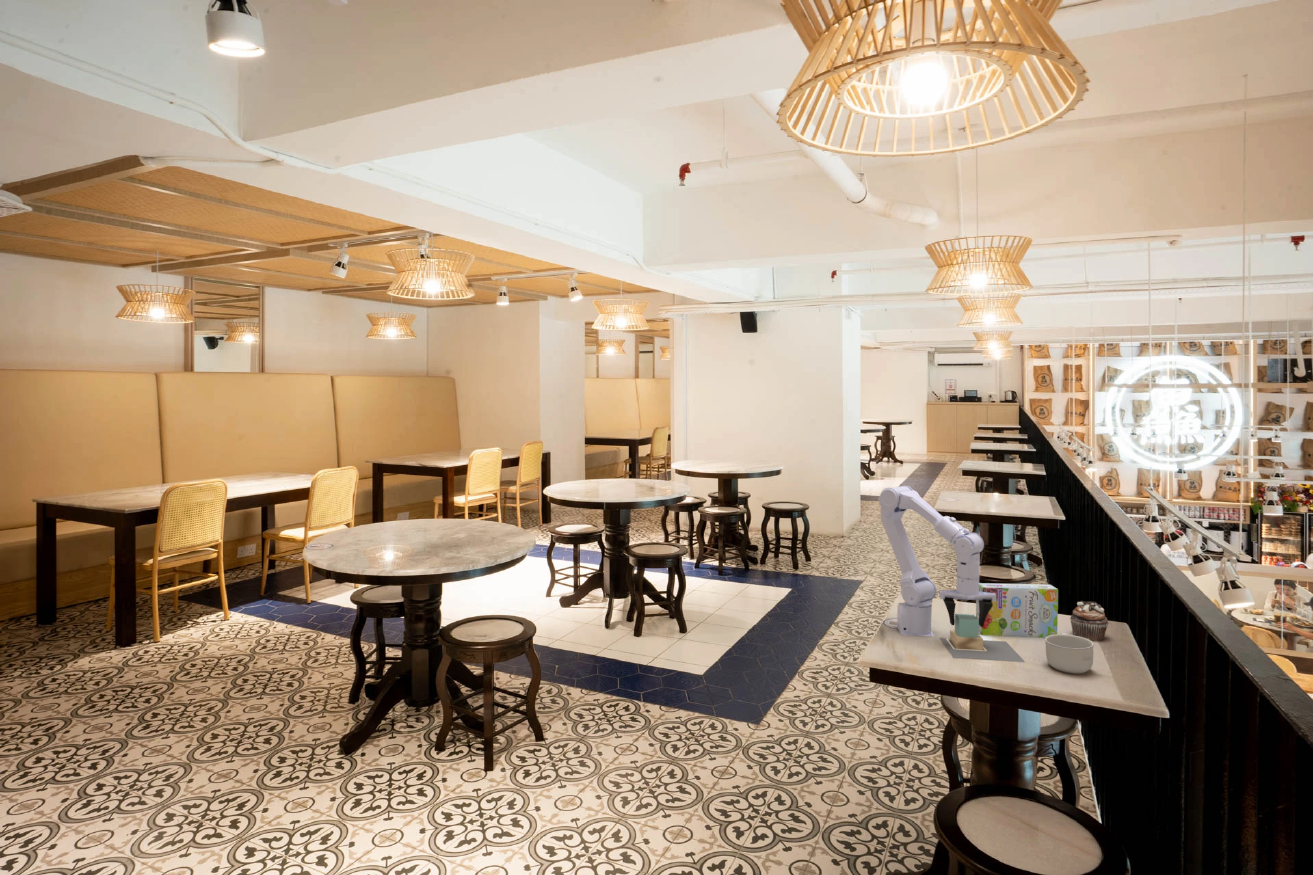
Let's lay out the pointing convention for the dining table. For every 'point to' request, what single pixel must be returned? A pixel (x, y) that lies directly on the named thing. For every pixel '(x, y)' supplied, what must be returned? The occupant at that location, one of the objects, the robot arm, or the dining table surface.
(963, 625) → the teal block
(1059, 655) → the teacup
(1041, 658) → the dining table surface
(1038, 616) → the snack box
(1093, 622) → the cupcake
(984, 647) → the grey flat slab
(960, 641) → the maple base
